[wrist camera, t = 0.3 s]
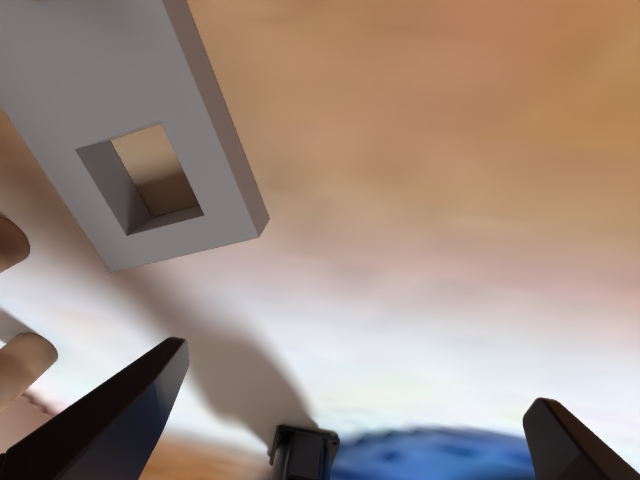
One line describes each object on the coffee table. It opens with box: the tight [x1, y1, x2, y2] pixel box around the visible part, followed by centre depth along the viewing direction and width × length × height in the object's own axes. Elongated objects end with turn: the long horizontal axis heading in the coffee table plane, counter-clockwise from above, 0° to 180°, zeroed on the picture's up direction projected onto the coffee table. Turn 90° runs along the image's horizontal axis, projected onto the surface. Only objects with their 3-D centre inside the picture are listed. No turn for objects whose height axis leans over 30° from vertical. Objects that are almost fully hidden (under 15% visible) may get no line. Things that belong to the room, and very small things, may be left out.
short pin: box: [0, 333, 58, 411], centre depth 28 cm, size 4×4×5 cm
